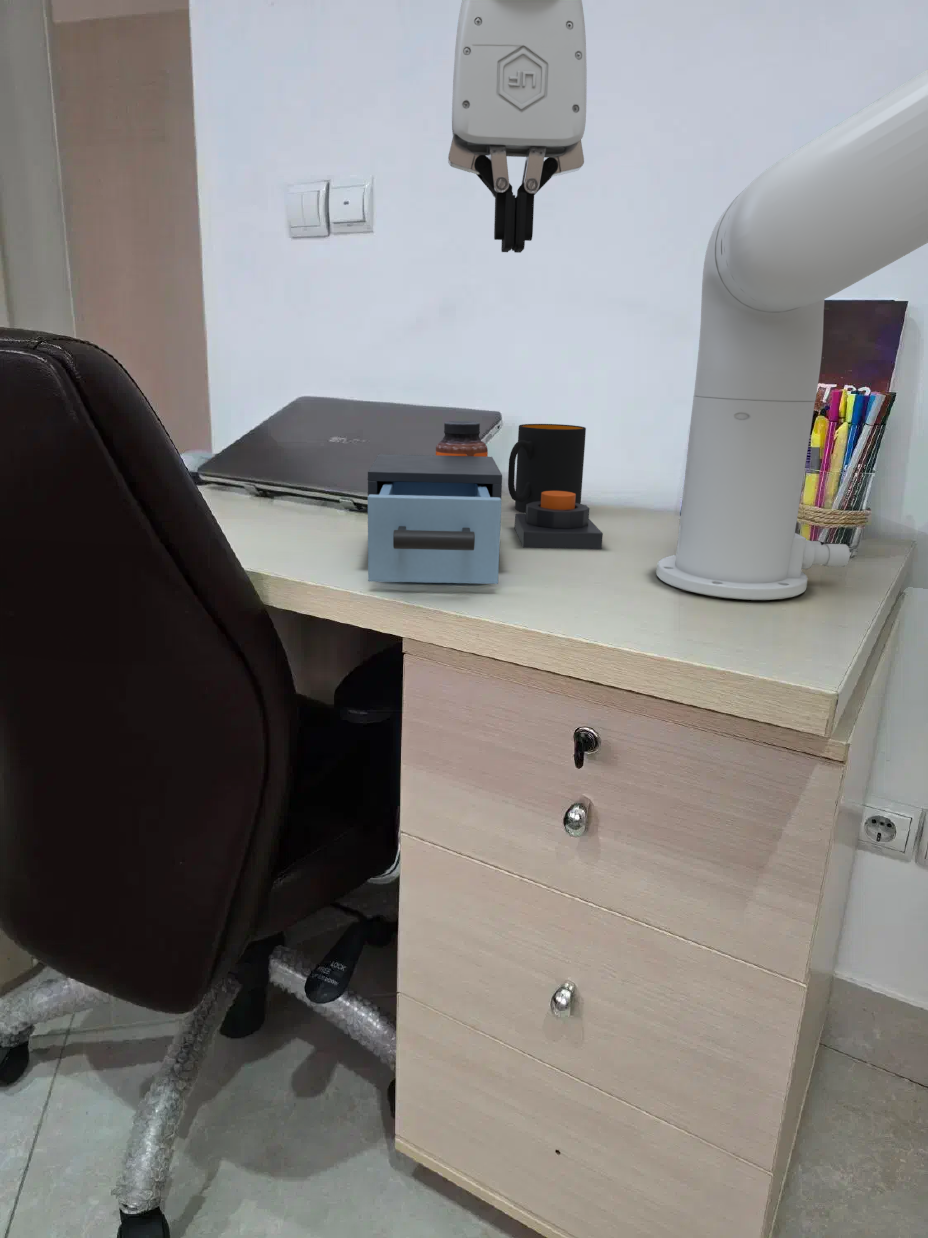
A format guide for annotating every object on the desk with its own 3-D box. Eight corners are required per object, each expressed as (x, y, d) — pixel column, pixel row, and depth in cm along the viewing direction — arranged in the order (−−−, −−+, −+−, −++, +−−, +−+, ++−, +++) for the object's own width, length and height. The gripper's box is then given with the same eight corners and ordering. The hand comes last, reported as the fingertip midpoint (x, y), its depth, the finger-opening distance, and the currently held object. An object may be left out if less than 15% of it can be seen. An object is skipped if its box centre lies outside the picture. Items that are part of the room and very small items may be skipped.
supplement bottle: (487, 518, 98) (491, 420, 95) (484, 528, 93) (487, 424, 89) (437, 516, 99) (439, 418, 95) (431, 525, 93) (432, 422, 90)
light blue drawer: (502, 599, 62) (505, 509, 60) (363, 596, 62) (362, 506, 60) (488, 549, 78) (491, 477, 76) (378, 547, 78) (378, 474, 76)
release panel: (584, 529, 93) (587, 499, 92) (601, 549, 84) (604, 515, 83) (514, 528, 93) (515, 497, 92) (523, 547, 83) (524, 513, 82)
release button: (571, 507, 89) (572, 491, 89) (577, 513, 86) (578, 496, 85) (538, 506, 89) (539, 490, 89) (542, 512, 86) (543, 495, 85)
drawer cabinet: (498, 571, 74) (502, 474, 71) (368, 568, 74) (367, 471, 71) (489, 539, 87) (492, 456, 84) (378, 537, 87) (378, 453, 84)
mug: (481, 512, 102) (484, 426, 99) (541, 502, 110) (546, 422, 107) (534, 522, 97) (539, 431, 94) (593, 510, 105) (599, 427, 102)
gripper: (421, -45, 58) (420, 241, 63) (632, -36, 59) (613, 247, 64) (421, -1, 65) (420, 253, 70) (609, 7, 66) (594, 258, 71)
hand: (512, 249), depth 67 cm, fingers closed
